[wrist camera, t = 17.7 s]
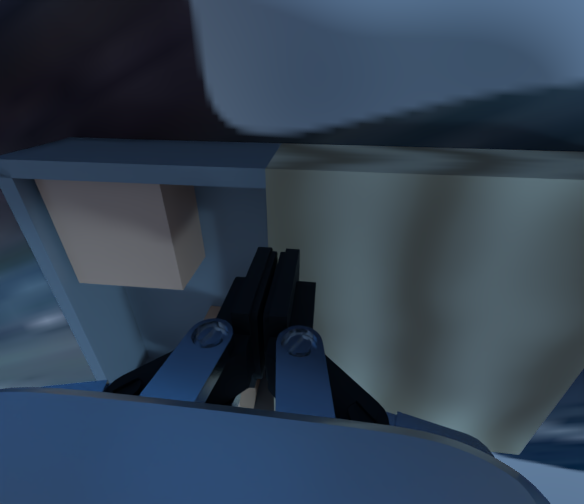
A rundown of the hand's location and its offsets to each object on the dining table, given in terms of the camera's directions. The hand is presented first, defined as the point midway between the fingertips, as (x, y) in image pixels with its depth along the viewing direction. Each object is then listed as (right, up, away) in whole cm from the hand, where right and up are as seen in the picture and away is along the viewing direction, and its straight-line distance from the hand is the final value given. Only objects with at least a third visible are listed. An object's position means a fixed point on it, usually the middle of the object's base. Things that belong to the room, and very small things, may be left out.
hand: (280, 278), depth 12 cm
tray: (-6, 0, +9) cm, 11 cm away
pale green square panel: (+8, -1, +8) cm, 11 cm away
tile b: (-8, +2, +3) cm, 9 cm away
